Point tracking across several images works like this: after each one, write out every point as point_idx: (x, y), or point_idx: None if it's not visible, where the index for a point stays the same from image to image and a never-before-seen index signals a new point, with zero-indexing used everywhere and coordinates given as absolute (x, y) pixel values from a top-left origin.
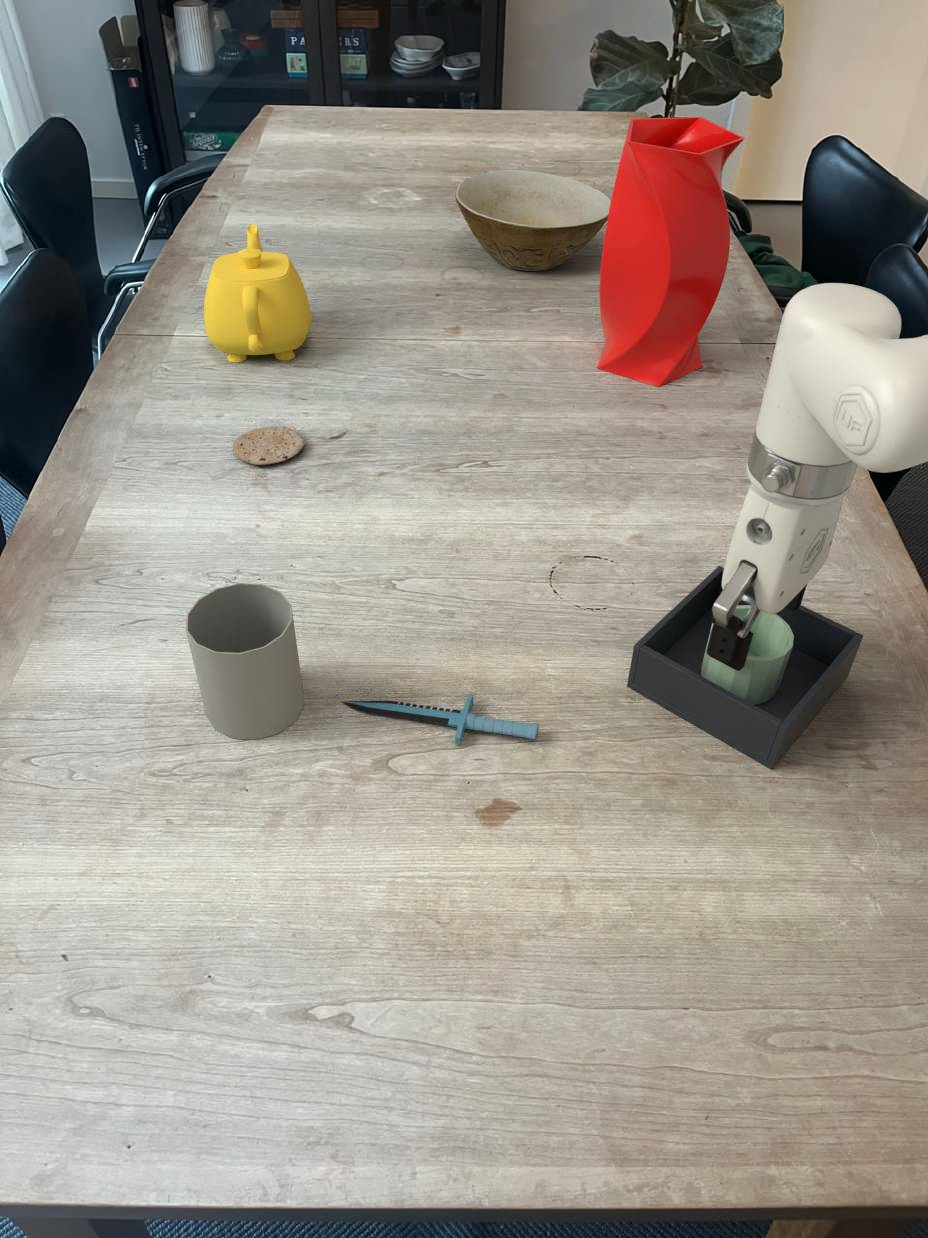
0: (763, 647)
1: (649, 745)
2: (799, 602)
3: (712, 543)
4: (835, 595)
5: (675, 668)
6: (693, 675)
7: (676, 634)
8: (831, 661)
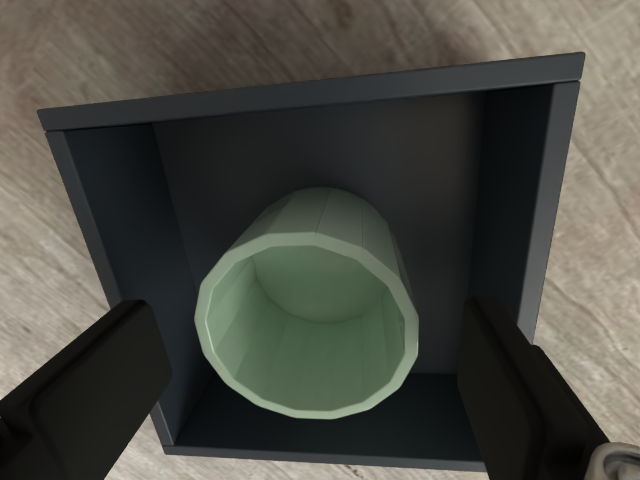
0: (246, 271)
1: (579, 284)
2: (120, 315)
3: None
4: (7, 241)
5: None
6: None
7: None
8: (149, 150)
